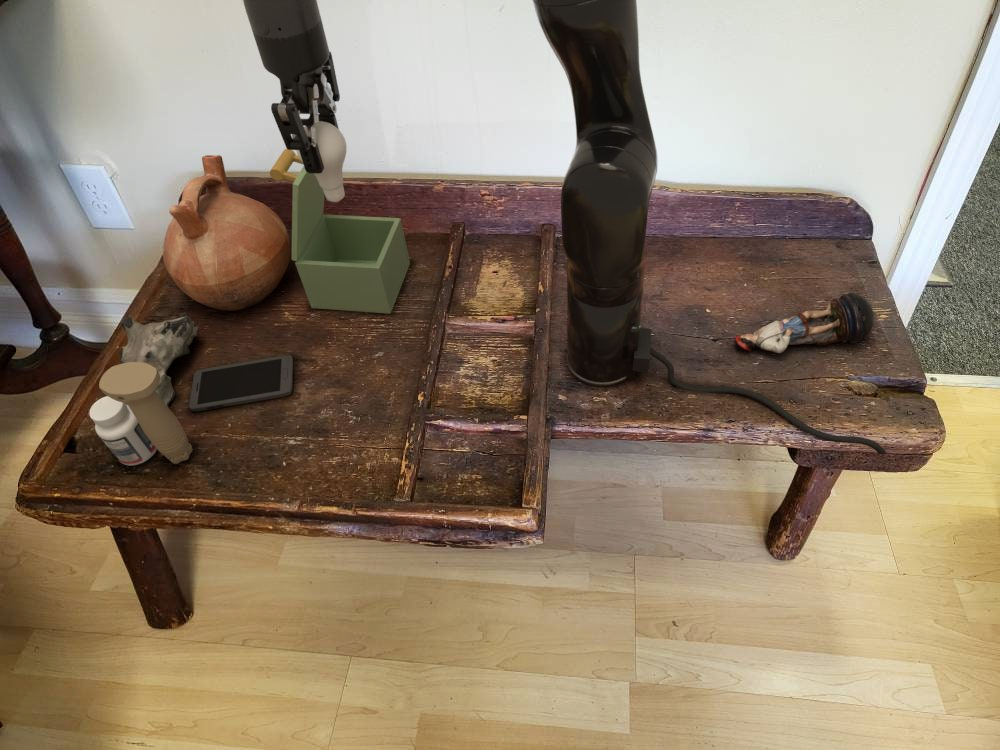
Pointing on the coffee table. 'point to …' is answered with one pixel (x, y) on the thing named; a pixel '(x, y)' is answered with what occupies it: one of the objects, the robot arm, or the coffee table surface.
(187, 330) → the decorative stone
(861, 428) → the coffee table surface
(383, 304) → the chest
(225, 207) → the jug
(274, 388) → the cell phone
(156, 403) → the handle
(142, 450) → the pill bottle
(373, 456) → the coffee table surface
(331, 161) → the lightbulb
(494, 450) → the coffee table surface
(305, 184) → the chest lid
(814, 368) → the coffee table surface
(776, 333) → the figurine
